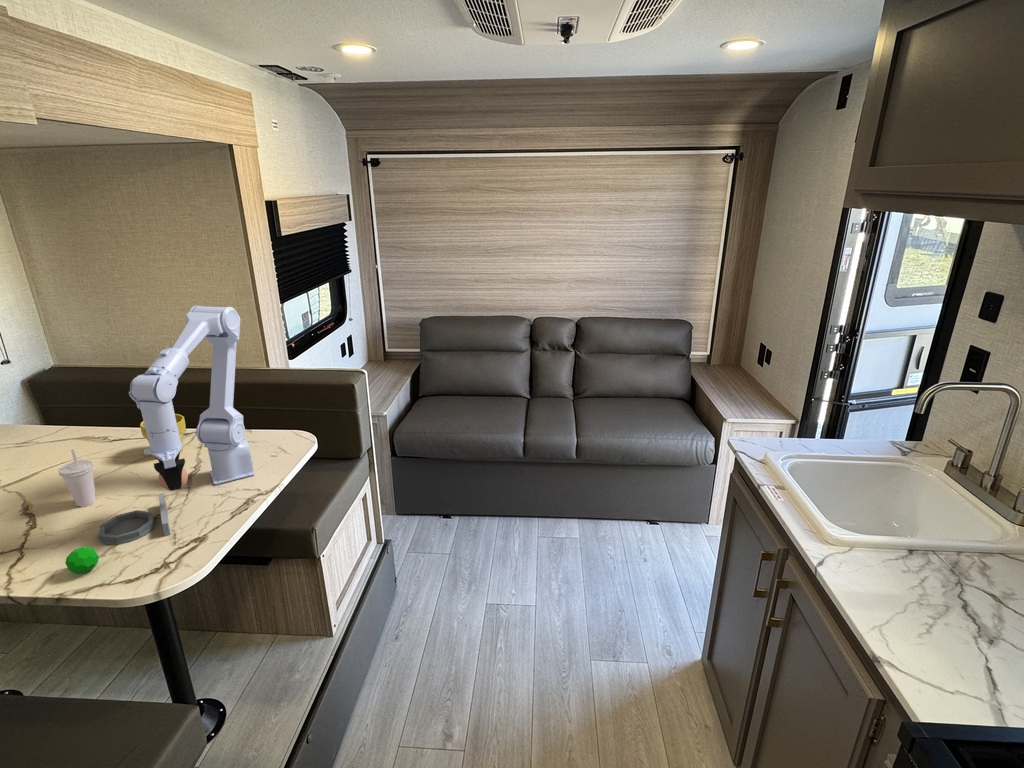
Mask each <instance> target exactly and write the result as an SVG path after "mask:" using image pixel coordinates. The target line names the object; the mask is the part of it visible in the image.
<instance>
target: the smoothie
mask: <svg viewBox="0 0 1024 768" xmlns="http://www.w3.org/2000/svg"><path fill="white" fill-rule="evenodd" d="M70 452H71V455H72V458H73V462H69V463H67V464H66V463H65V464H64V465H62V466H60V468H59V469H58V470H57V471H58V475H59V476H60V477H62V479H63V481H64V484H65V485H66V487H67V489H68V491H69V493H70V496H71V497H72V499H73V501H74V503H75V505H76V507H78V506H85V507H88V506H91V505H93V504H94V503H96V502H97V497H96V496H97V495H96V487H95V479H94V471H93V470H94V466H95V465H94V463H93V461H91V460H87V459H83V460H78V459H77V454H76V451H75V449H71V450H70ZM95 501H96V502H95ZM90 504H91V505H90ZM87 505H88V506H87Z"/></svg>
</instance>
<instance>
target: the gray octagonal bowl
mask: <svg viewBox="0 0 1024 768" xmlns="http://www.w3.org/2000/svg"><path fill="white" fill-rule="evenodd" d="M156 525H157V520H156V518H155V516H154V514H153V512H151V511H146V510H140V509H139V510H137V509H136V510H132V511H128V512H125V513H121V514H118V515H117V514H116V515H115V516H114V515H113V517H112V518H110V519H108V520H107V521H105V522H104V523H102V524H101V525H99V527H98V528H99V529H98V540H99V542H100V543H102V544H104V545H108V546H109V545H111V546H112V545H113V546H114V545H121V544H126V543H130V542H132V541H136V540H138V539H140V538H143V537H144V536H146V535H147V534H149V533H150V532H151V531H152V530H153V529H154V528H155V526H156Z"/></svg>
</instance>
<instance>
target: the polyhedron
mask: <svg viewBox="0 0 1024 768" xmlns="http://www.w3.org/2000/svg"><path fill="white" fill-rule="evenodd" d="M99 559H100V556H99V555H98V553H97V551H96V550H95V549H94V548H93V547H90V546H83V547H82V546H81V547H77V548H75V549H74V550H73V551H72V552H70V553H69V554H68V556H66V559H65V563H64V564H65V565H66V566H65V567H67V568H68V570H69V571H70V573H72V574H76V575H79V574H84V573H88V572H90V571H92V569H94V568H95V567H96V566H97V564H98V563H99Z"/></svg>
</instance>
